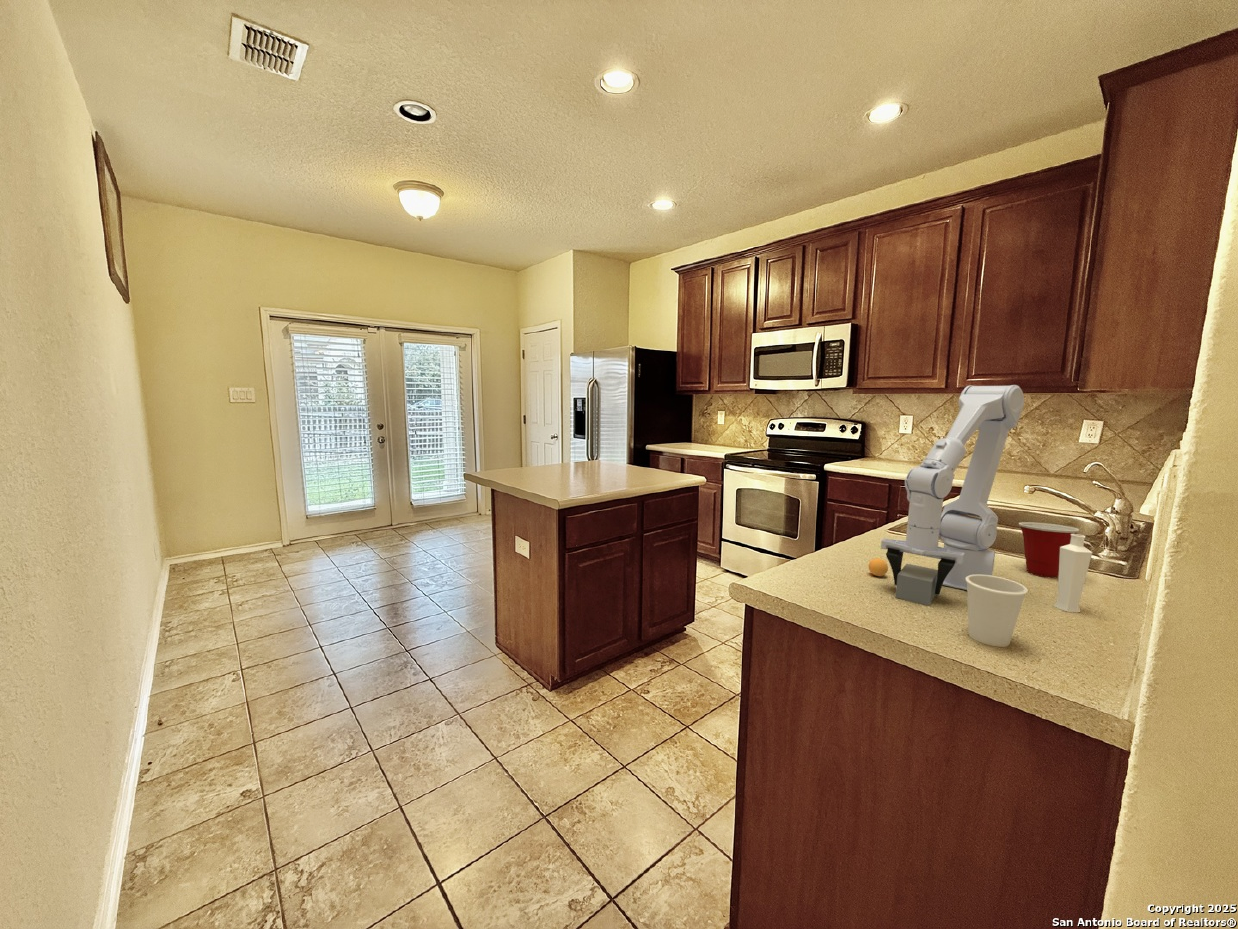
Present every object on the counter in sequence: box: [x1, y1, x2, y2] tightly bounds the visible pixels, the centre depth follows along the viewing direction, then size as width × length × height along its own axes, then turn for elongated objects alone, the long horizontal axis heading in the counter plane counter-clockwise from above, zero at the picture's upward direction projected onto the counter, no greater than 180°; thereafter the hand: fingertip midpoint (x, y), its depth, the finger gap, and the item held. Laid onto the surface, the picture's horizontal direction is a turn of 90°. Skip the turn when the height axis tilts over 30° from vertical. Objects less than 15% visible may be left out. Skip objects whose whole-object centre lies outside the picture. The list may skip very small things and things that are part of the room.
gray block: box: [894, 563, 938, 607], centre depth 102 cm, size 6×9×5 cm, turn 139°
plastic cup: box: [1018, 521, 1080, 578], centre depth 115 cm, size 11×11×12 cm
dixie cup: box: [966, 574, 1029, 648], centre depth 83 cm, size 8×8×10 cm
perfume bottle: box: [1053, 533, 1093, 613], centre depth 95 cm, size 5×4×15 cm
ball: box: [868, 558, 889, 577], centre depth 113 cm, size 4×4×4 cm
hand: (916, 588), depth 102 cm, fingers open, 7 cm apart
